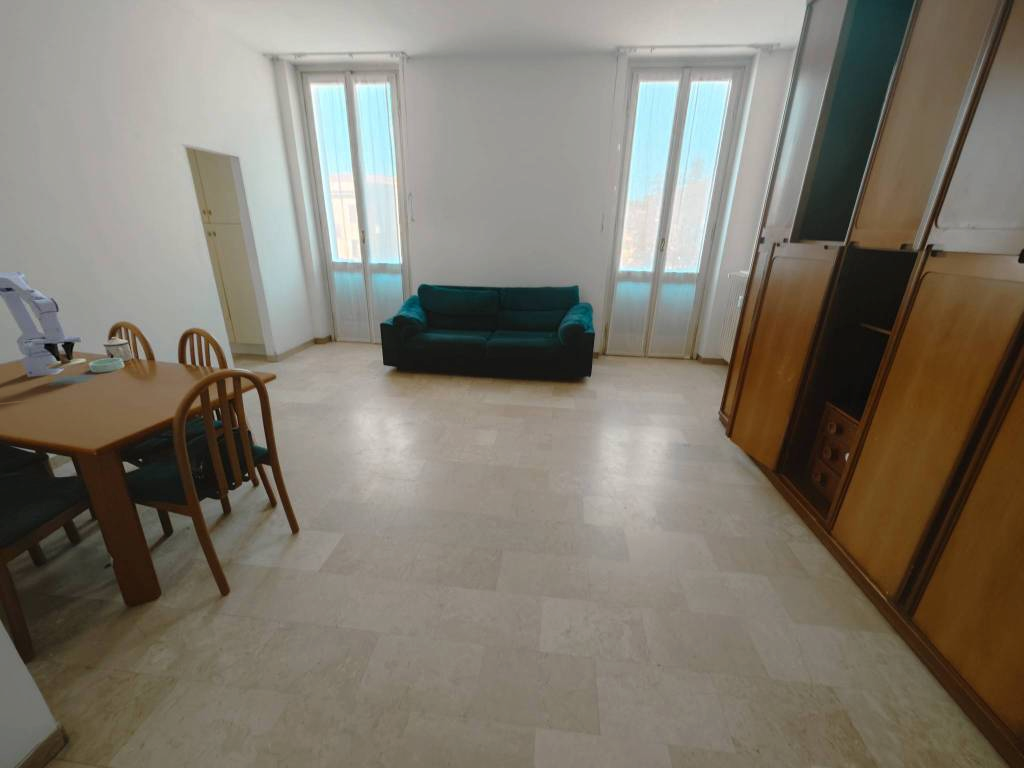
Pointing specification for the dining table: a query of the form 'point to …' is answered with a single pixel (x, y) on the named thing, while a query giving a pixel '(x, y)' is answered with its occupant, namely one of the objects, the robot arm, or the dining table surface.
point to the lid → (65, 362)
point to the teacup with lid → (118, 349)
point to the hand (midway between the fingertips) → (65, 360)
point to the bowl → (106, 365)
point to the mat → (71, 379)
